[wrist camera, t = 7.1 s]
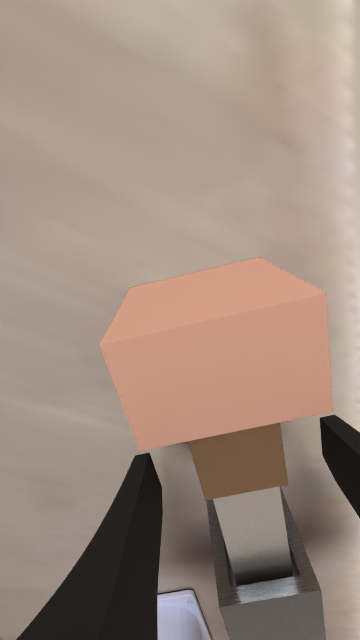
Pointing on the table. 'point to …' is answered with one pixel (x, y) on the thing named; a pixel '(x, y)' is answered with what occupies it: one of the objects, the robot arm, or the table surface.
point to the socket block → (219, 353)
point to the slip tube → (247, 499)
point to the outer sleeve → (269, 593)
